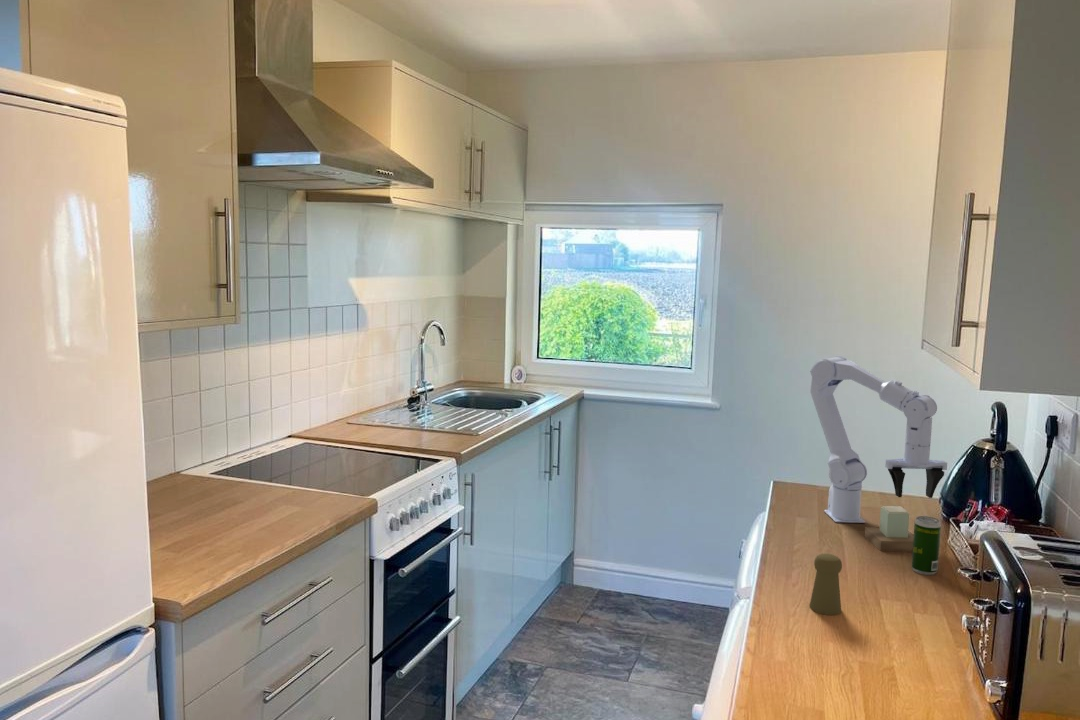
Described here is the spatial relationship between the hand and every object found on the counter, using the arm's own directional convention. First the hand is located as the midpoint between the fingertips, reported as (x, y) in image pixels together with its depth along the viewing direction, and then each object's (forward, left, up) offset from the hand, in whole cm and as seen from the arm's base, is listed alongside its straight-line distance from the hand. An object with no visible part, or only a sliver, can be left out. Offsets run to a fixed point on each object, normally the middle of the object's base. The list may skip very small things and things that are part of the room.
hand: (913, 496), depth 198 cm
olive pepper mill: (+44, -36, -11) cm, 58 cm away
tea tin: (+6, -7, -8) cm, 12 cm away
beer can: (+23, -7, -11) cm, 26 cm away
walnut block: (+6, -7, -11) cm, 14 cm away
